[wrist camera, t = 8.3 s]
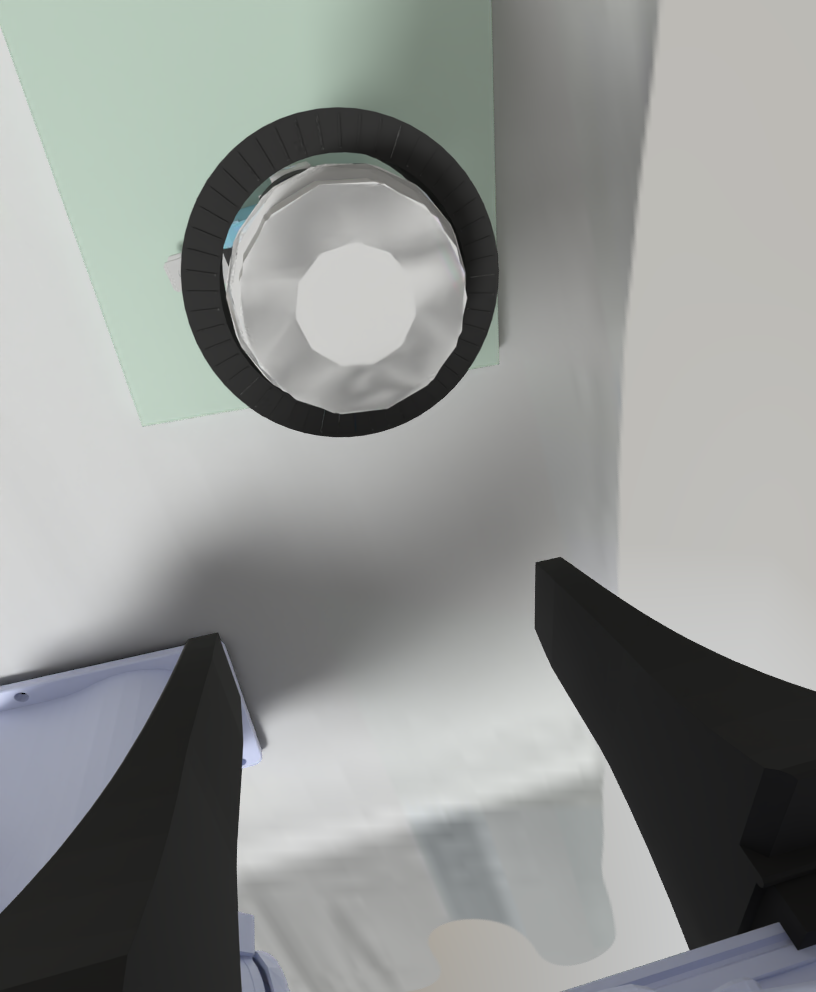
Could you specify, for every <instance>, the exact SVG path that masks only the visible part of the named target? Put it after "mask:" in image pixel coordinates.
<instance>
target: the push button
mask: <svg viewBox="0 0 816 992" xmlns="http://www.w3.org/2000/svg"><path fill="white" fill-rule="evenodd" d="M343 152H347V153H357V154H364V155H368V156H370V157H373V158H375V159H378V160H379V161H381V162H383V163H385V164H387V165H389V166H390V167H392V168H393V169H394V170H396V171H397V172H398V173H400V174H401V175H402V176H403V177H404V178H405V179H406V180H405V179H403V178H401V177H399V176H397V175H395V174H393V173H391V172H389V171H387V170H385V169H383V168H381V167H378V166H374V165H371V164H367V163H349V164H322V165H317V166H313V167H311V165H310V164H309V163H308V162H306V161H305V162H301V163H297V164H294V165H291V164H293V163H295V162H297V161H299V160H302V159H305V158H308V157H312V156H316V155H321V154H327V153H343ZM288 165H291V166H288ZM286 166H288V167H286ZM284 167H285V168H284ZM269 177H270V180H271V183H272V184H270V185H269V186H268V187H267V188H266V189H265V191H264V192H263V193H262V194H261V195H259V200H260V201H259V202H258V204H255V205H252V206H249V207H245V208H242V209H241V207H242V206H243V204H244V203H245V201H246V200H247V199H248V198H249V197H250V195H251V194H252V193H253V192H254V191H255V189H257V188H258V187H259V186H260V185H261V184H262V183H263V182H264V181H265V180H267V179H268V178H269ZM407 180H408V181H407ZM164 269H165V272H166V274H167V276H168V278H169V280H170V282H171V285H172V287H173V289H174V290H175V291H177V292H180V291H182V295H183V301H184V307H185V311H186V315H187V318H188V322H189V325H190V328H191V331H192V333H193V336H194V338H195V341H196V343H197V345H198V347H199V349H200V351H201V353H202V354H203V356H204V358H205V360H206V361H207V363H208V364H209V366H210V367H211V369H212V370H213V372H214V373H215V374H216V375H217V377H218V378H219V379H220V380H221V382H222V383H223V384H224V385H225V386H226V387H227V388H228V389H229V390H230V391H231V392H232V393H233V394H234V395H235V396H236V397H237V398H238V399H240V400H241V401H242V402H243V403H245V404H246V405H247V406H248V407H250V408H251V409H253V410H254V411H256V412H257V413H259V414H260V415H262V416H264V417H266V418H268V419H269V420H271V421H273V422H275V423H277V424H280V425H282V426H285V427H287V428H290V429H293V430H297V431H300V432H303V433H308V434H313V435H318V436H328V437H354V436H363V435H368V434H373V433H378V432H382V431H385V430H388V429H391V428H394V427H397V426H399V425H401V424H404V423H406V422H408V421H410V420H412V419H414V418H416V417H418V416H419V415H421V414H422V413H424V412H425V411H427V410H428V409H430V408H431V407H433V406H434V405H435V404H437V403H438V402H439V401H440V400H441V399H443V398H444V397H445V396H446V395H447V394H448V393H449V392H450V391H451V390H452V389H453V388H454V387H455V386H456V385H457V384H458V382H459V381H460V380H461V379H462V378H463V376H464V375H465V374H466V372H467V371H468V369H469V368H470V367H471V365H472V364H473V362H474V360H475V359H476V357H477V355H478V353H479V352H480V350H481V348H482V345H483V343H484V341H485V339H486V336H487V334H488V331H489V328H490V325H491V322H492V319H493V314H494V310H495V306H496V300H497V292H498V276H499V268H498V253H497V247H496V241H495V236H494V232H493V228H492V225H491V221H490V218H489V216H488V213H487V210H486V208H485V205H484V203H483V201H482V199H481V197H480V195H479V193H478V191H477V189H476V187H475V186H474V184H473V183H472V181H471V180H470V178H469V177H468V175H467V174H466V172H465V171H464V170H463V169H462V167H461V166H460V165H459V164H458V162H457V161H456V160H455V159H454V158H453V157H452V156H451V155H450V154H449V153H448V152H447V151H446V150H445V149H444V148H443V147H442V146H441V145H439V144H438V143H437V142H436V141H434V140H433V139H432V138H430V137H429V136H428V135H426V134H425V133H423V132H422V131H420V130H418V129H417V128H415V127H413V126H412V125H410V124H407V123H405V122H403V121H401V120H399V119H396V118H394V117H391V116H388V115H385V114H382V113H378V112H375V111H370V110H364V109H358V108H345V107H331V108H318V109H313V110H308V111H303V112H298V113H295V114H292V115H289V116H286V117H283V118H280V119H278V120H276V121H274V122H272V123H269V124H267V125H265V126H263V127H261V128H260V129H258V130H257V131H255V132H254V133H252V134H251V135H249V136H248V137H246V138H245V139H244V140H243V141H241V142H240V143H239V144H238V145H237V146H236V147H234V148H233V149H232V150H231V151H230V152H229V153H228V154H227V155H226V157H225V158H224V159H223V160H222V161H221V162H220V163H219V164H218V166H217V167H216V168H215V170H214V171H213V173H212V174H211V175H210V177H209V178H208V179H207V181H206V183H205V185H204V186H203V188H202V190H201V192H200V194H199V195H198V197H197V199H196V202H195V204H194V207H193V209H192V212H191V214H190V217H189V220H188V224H187V227H186V231H185V235H184V241H183V247H182V252H181V253H178V254H175V255H171V256H169V257H168V260H167V262H165V264H164ZM224 283H226V290H225V284H224Z"/></svg>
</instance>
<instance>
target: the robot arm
mask: <svg viewBox="0 0 816 992" xmlns="http://www.w3.org/2000/svg"><path fill="white" fill-rule="evenodd" d="M535 630H536V632H537V635H538V637H539V639H540V642H541V644H542V647H543V649H544V651H545V653H546V656H547V658H548V660H549V662H550V664H551V667H552V668H553V670H554V672H555V673H556V675H557V677H558V679H559V680H560V682H561V684H562V685H563V687H564V689H565V690H566V692H567V694H568V695H569V697H570V699H571V700H572V702H573V704H574V705H575V707H576V709H577V710H578V712H579V714H580V715H581V717H582V719H583V720H584V722H585V724H586V725H587V727H588V729H589V730H590V732H591V734H592V735H593V737H594V739H595V740H596V742H597V744H598V745H599V747H600V749H601V750H602V752H603V754H604V756H605V758H606V760H607V761H608V763H609V765H610V767H611V769H612V771H613V773H614V776H615V778H616V780H617V782H618V784H619V786H620V788H621V790H622V792H623V795H624V797H625V799H626V801H627V803H628V805H629V807H630V809H631V812H632V814H633V816H634V818H635V821H636V823H637V825H638V827H639V829H640V831H641V834H642V836H643V838H644V840H645V843H646V845H647V847H648V849H649V852H650V854H651V857H652V859H653V861H654V864H655V866H656V868H657V871H658V873H659V876H660V878H661V880H662V883H663V885H664V887H665V890H666V892H667V894H668V897H669V899H670V902H671V904H672V907H673V909H674V912H675V914H676V917H677V919H678V922H679V924H680V927H681V929H682V932H683V934H684V937H685V939H686V942H687V944H688V947H689V949H690V951H687V952H684V953H680V954H678V955H674V956H671V957H668V958H665V959H662V960H658V961H655V962H652V963H649V964H646V965H643V966H640V967H637V968H633V969H631V970H627V971H624V972H621V973H618V974H615V975H612V976H608V977H605V978H602V979H599V980H596V981H593V982H590V983H587V984H584V985H580V986H577V987H574V988H571V989H568V990H565V991H562V992H816V691H813V690H810V689H807V688H804V687H801V686H798V685H795V684H792V683H789V682H786V681H783V680H781V679H778V678H775V677H773V676H770V675H767V674H764V673H762V672H760V671H757V670H755V669H752V668H750V667H748V666H745V665H743V664H740V663H738V662H735V661H733V660H731V659H729V658H726V657H724V656H722V655H720V654H718V653H716V652H714V651H712V650H709V649H707V648H705V647H703V646H701V645H699V644H697V643H695V642H693V641H691V640H689V639H687V638H685V637H683V636H682V635H680V634H678V633H676V632H674V631H673V630H671V629H669V628H667V627H666V626H664V625H662V624H661V623H659V622H657V621H655V620H654V619H652V618H650V617H649V616H647V615H645V614H643V613H642V612H640V611H639V610H637V609H636V608H634V607H633V606H631V605H630V604H628V603H626V602H625V601H623V600H622V599H620V598H619V597H617V596H616V595H614V594H613V593H611V592H610V591H608V590H607V589H606V588H604V587H603V586H601V585H600V584H598V583H597V582H596V581H594V580H593V579H591V578H590V577H588V576H587V575H586V574H584V573H583V572H581V571H580V570H579V569H577V568H576V567H574V566H573V565H572V564H570V563H569V562H567V561H566V560H564V559H563V558H561V557H558V558H554V559H549V560H545V561H540V562H536V573H535ZM20 693H26V694H20ZM261 760H262V749H261V747H260V744H259V741H258V738H257V735H256V732H255V729H254V726H253V724H252V721H251V718H250V715H249V712H248V709H247V706H246V704H245V701H244V698H243V695H242V692H241V689H240V686H239V683H238V681H237V678H236V675H235V672H234V669H233V666H232V663H231V661H230V658H229V655H228V652H227V649H226V646H225V644H224V643H223V642H222V641H221V640H220V637H219V634H218V633H214V634H210V635H205V636H201V637H196V638H192V639H189V640H188V641H187V642H186V644H185V645H183V646H179V647H174V648H170V649H165V650H161V651H156V652H152V653H147V654H143V655H138V656H134V657H129V658H125V659H120V660H116V661H111V662H107V663H102V664H98V665H93V666H89V667H84V668H80V669H75V670H71V671H66V672H62V673H57V674H53V675H48V676H44V677H39V678H35V679H30V680H26V681H21V682H17V683H12V684H8V685H3V686H0V992H290V990H289V988H288V983H287V981H286V978H285V975H284V972H283V970H282V968H281V966H280V965H279V963H278V961H277V960H276V959H275V958H274V957H273V956H272V955H271V954H269V953H267V952H264V951H255V946H254V915H252V914H247V913H242V912H239V911H238V897H237V837H238V821H239V806H240V791H241V775H242V768H246V767H250V766H253V765H256V764H258V763H259V762H261Z"/></svg>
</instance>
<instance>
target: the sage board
mask: <svg viewBox="0 0 816 992" xmlns="http://www.w3.org/2000/svg"><path fill="white" fill-rule="evenodd" d="M0 26H1V29H2V32H3V35H4V38H5V41H6V43H7V46H8V49H9V52H10V55H11V57H12V60H13V63H14V66H15V69H16V72H17V74H18V77H19V80H20V83H21V86H22V88H23V91H24V94H25V97H26V100H27V103H28V105H29V108H30V111H31V114H32V117H33V119H34V122H35V125H36V128H37V131H38V134H39V136H40V139H41V142H42V145H43V148H44V150H45V153H46V156H47V159H48V162H49V165H50V167H51V170H52V173H53V176H54V179H55V181H56V184H57V187H58V190H59V193H60V196H61V198H62V201H63V204H64V207H65V210H66V212H67V215H68V218H69V221H70V224H71V227H72V229H73V232H74V235H75V238H76V241H77V243H78V246H79V249H80V252H81V255H82V258H83V260H84V263H85V266H86V269H87V272H88V274H89V277H90V280H91V283H92V286H93V289H94V291H95V294H96V297H97V300H98V303H99V305H100V308H101V311H102V314H103V317H104V320H105V322H106V325H107V328H108V331H109V334H110V336H111V339H112V342H113V345H114V348H115V351H116V353H117V356H118V359H119V362H120V365H121V367H122V370H123V373H124V376H125V379H126V382H127V384H128V387H129V390H130V393H131V396H132V398H133V401H134V404H135V407H136V410H137V413H138V415H139V418H140V421H141V424H142V427H144V426H149V425H155V424H161V423H167V422H172V421H178V420H184V419H190V418H195V417H201V416H207V415H212V414H218V413H224V412H230V411H235V410H241V409H247V408H250V407H248V406H247V405H246V404H245V403H243V402H242V401H241V400H240V399H238V398H237V397H236V396H235V395H234V394H233V393H232V392H231V391H230V390H229V389H228V388H227V387H226V386H225V385H224V384H223V383H222V382H221V380H220V379H219V378H218V377H217V375H216V374H215V373H214V372H213V370H212V369H211V367H210V366H209V364H208V363H207V361H206V360H205V358H204V356H203V354H202V353H201V351H200V349H199V347H198V345H197V343H196V341H195V338H194V336H193V333H192V331H191V328H190V325H189V322H188V318H187V315H186V311H185V307H184V301H183V295H182V291H180V292H177V291H175V290H174V289H173V287H172V285H171V282H170V280H169V278H168V276H167V274H166V272H165V269H164V264H165V262H167V260H168V257H169V256H171V255H175V254H178V253H181V252H182V247H183V241H184V235H185V231H186V227H187V224H188V220H189V217H190V214H191V212H192V209H193V207H194V204H195V202H196V199H197V197H198V195H199V194H200V192H201V190H202V188H203V186H204V185H205V183H206V181H207V179H208V178H209V177H210V175H211V174H212V173H213V171H214V170H215V168H216V167H217V166H218V164H219V163H220V162H221V161H222V160H223V159H224V158H225V157H226V155H227V154H228V153H229V152H230V151H231V150H232V149H233V148H234V147H236V146H237V145H238V144H239V143H240V142H241V141H243V140H244V139H245V138H246V137H248V136H249V135H251V134H252V133H254V132H255V131H257V130H258V129H260V128H261V127H263V126H265V125H267V124H269V123H272V122H274V121H276V120H278V119H280V118H283V117H286V116H289V115H292V114H295V113H298V112H303V111H308V110H313V109H318V108H331V107H345V108H358V109H364V110H370V111H375V112H378V113H382V114H385V115H388V116H391V117H394V118H396V119H399V120H401V121H403V122H405V123H407V124H410V125H412V126H413V127H415V128H417V129H418V130H420V131H422V132H423V133H425V134H426V135H428V136H429V137H430V138H432V139H433V140H434V141H436V142H437V143H438V144H439V145H441V146H442V147H443V148H444V149H445V150H446V151H447V152H448V153H449V154H450V155H451V156H452V157H453V158H454V159H455V160H456V161H457V162H458V164H459V165H460V166H461V167H462V169H463V170H464V171H465V172H466V174H467V175H468V177H469V178H470V180H471V181H472V183H473V184H474V186H475V187H476V189H477V191H478V193H479V195H480V197H481V199H482V201H483V203H484V205H485V208H486V210H487V213H488V216H489V218H490V221H491V225H492V228H493V232H494V236H495V241H496V247H497V240H496V192H495V144H494V96H493V49H492V1H491V0H0ZM305 161H306V162H308V163H309V164H310V165H311V167H313V166H317V165H322V164H349V163H367V164H371V165H374V166H378V167H381V168H383V169H385V170H387V171H389V172H391V173H393V174H395V175H397V176H399V177H401V178H403V179H405V178H404V177H403V176H402V175H401V174H400V173H398V172H397V171H396V170H394V169H393V168H392V167H390V166H389V165H387V164H385V163H383V162H381V161H379V160H378V159H375V158H373V157H370V156H368V155H364V154H357V153H347V152H343V153H327V154H321V155H316V156H312V157H308V158H305V159H302V160H299V161H297V162H295V163H293V164H291V165H294V164H297V163H301V162H305ZM291 165H288V166H291ZM288 166H286V167H288ZM284 168H285V167H284ZM405 180H406V179H405ZM407 181H408V180H407ZM270 184H272V183H271V180H270V177H269V178H268V179H267V180H265V181H264V182H263V183H262V184H261V185H260V186H259V187H258V188H257V189H255V191H254V192H253V193H252V194H251V195H250V197H249V198H248V199H247V200H246V201H245V203H244V204H243V206H242V207H241V209H242V208H245V207H249V206H252V205H255V204H258V202H259V201H260V200H259V195H261V194H262V193H263V192H264V191H265V189H266V188H267V187H268V186H269V185H270ZM224 284H225V290H226V283H224ZM498 364H499V336H498V292H497V300H496V306H495V310H494V314H493V319H492V322H491V325H490V328H489V331H488V334H487V336H486V339H485V341H484V343H483V345H482V348H481V350H480V352H479V353H478V355H477V357H476V359H475V360H474V362H473V364H472V365H471V367H470V368H469V369H468V370H470V369H475V368H481V367H487V366H493V365H498Z"/></svg>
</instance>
